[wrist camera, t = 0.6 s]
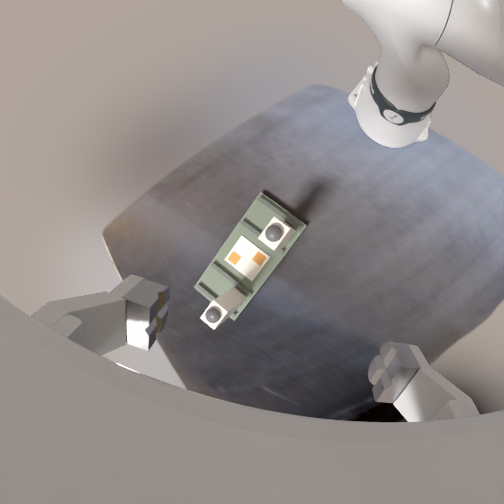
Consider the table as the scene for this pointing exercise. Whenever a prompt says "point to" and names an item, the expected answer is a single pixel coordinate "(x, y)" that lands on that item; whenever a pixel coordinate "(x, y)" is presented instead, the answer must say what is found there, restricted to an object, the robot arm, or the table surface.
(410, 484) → the robot arm
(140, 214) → the table surface
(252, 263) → the switch unit
